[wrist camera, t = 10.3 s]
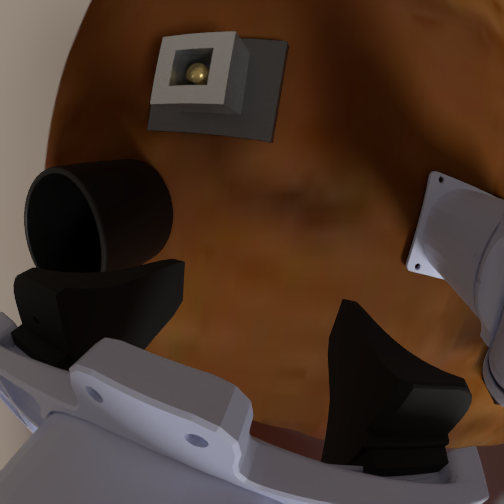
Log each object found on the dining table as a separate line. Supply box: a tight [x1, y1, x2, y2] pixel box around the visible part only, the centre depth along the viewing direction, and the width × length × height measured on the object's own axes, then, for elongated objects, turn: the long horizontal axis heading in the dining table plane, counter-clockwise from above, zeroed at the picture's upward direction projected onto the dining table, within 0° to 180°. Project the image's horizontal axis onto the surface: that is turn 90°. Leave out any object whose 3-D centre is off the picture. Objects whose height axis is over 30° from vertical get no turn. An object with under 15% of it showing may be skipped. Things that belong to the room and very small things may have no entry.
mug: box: [24, 159, 173, 273], centre depth 19 cm, size 9×12×9 cm
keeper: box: [147, 38, 289, 143], centre depth 17 cm, size 10×8×4 cm
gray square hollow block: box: [150, 32, 250, 115], centre depth 16 cm, size 5×5×4 cm
